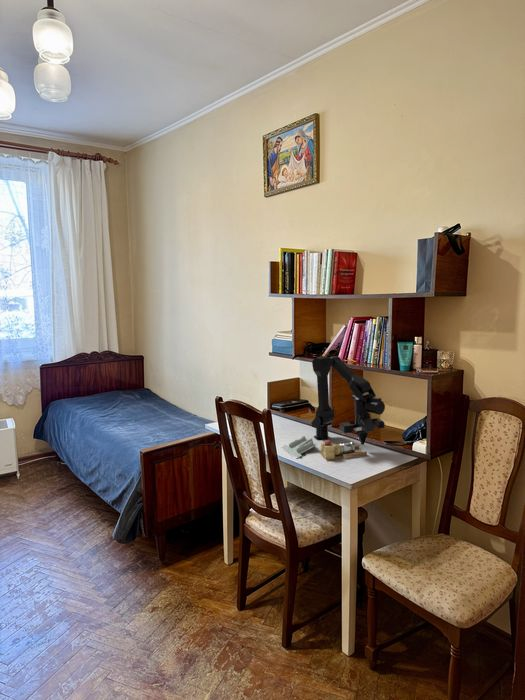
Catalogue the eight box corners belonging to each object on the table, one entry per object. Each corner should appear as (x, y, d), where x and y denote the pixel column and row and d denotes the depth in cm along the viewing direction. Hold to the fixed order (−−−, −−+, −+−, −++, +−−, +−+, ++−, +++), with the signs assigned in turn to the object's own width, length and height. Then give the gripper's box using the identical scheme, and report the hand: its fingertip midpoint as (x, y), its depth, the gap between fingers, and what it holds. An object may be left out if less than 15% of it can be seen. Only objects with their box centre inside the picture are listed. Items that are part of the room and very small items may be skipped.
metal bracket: (303, 431, 221) (320, 441, 208) (307, 442, 223) (323, 452, 209) (277, 445, 217) (292, 456, 203) (281, 456, 218) (296, 467, 205)
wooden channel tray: (319, 454, 208) (318, 438, 207) (357, 448, 212) (357, 433, 210) (327, 462, 198) (327, 446, 197) (367, 456, 202) (367, 440, 201)
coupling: (337, 452, 207) (337, 441, 206) (350, 450, 208) (350, 440, 207) (342, 457, 202) (341, 445, 201) (355, 455, 203) (354, 444, 202)
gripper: (348, 417, 194) (349, 454, 196) (390, 412, 198) (391, 447, 200) (338, 410, 204) (339, 444, 207) (378, 405, 208) (379, 439, 211)
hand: (362, 444), depth 206 cm, fingers closed
